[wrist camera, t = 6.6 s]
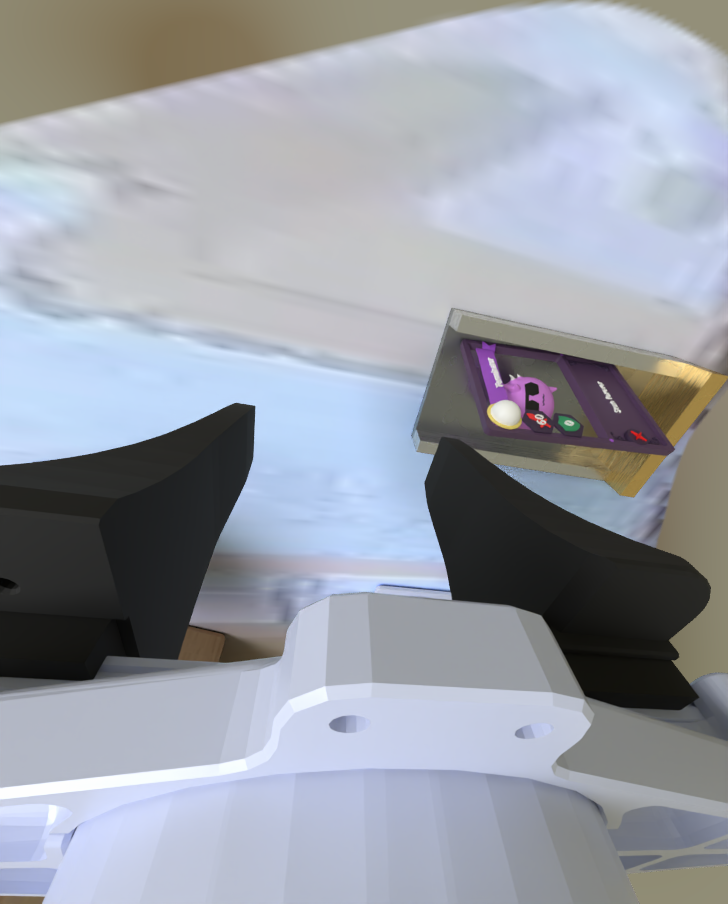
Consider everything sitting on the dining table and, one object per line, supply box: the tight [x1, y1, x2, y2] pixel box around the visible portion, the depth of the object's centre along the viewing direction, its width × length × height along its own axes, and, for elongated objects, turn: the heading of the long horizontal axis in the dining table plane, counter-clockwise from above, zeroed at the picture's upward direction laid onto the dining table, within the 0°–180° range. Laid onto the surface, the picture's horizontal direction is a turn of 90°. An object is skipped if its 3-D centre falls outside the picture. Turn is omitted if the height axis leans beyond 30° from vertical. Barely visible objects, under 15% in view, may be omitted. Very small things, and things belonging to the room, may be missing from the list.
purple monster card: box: [460, 339, 675, 456], centre depth 18 cm, size 7×5×9 cm
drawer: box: [411, 308, 728, 497], centre depth 20 cm, size 8×14×4 cm, turn 79°
